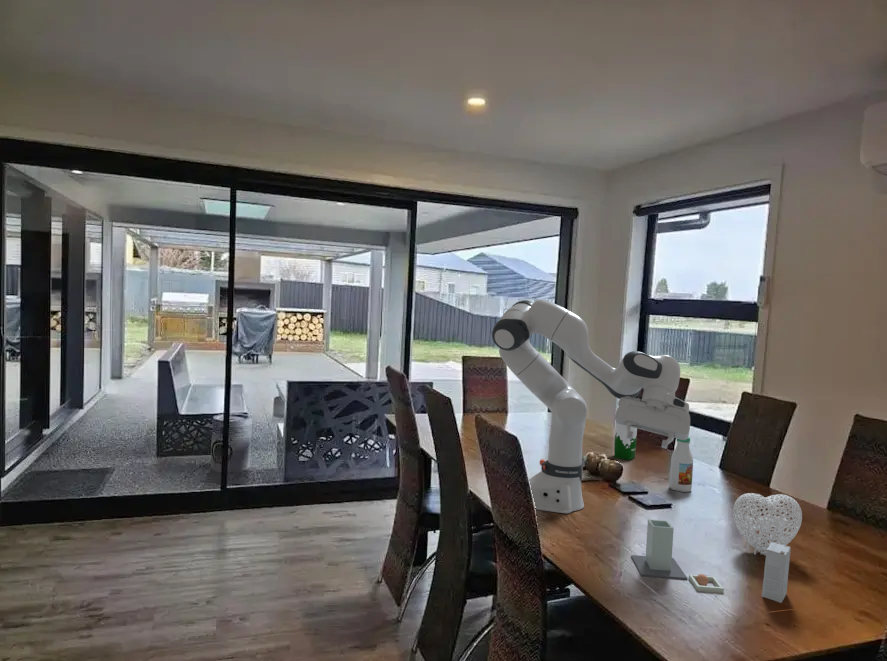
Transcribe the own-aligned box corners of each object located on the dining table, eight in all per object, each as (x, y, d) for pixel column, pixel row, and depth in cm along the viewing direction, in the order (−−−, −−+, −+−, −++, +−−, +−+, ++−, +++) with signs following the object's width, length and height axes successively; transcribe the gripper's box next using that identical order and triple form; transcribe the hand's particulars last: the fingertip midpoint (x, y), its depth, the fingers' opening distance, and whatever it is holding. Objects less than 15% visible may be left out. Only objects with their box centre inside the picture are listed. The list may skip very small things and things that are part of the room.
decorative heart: (785, 548, 164) (789, 489, 163) (808, 565, 153) (813, 502, 152) (722, 545, 164) (726, 486, 163) (741, 561, 153) (745, 499, 152)
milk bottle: (669, 490, 212) (672, 437, 212) (669, 484, 220) (672, 433, 219) (691, 493, 210) (695, 440, 209) (691, 488, 217) (694, 436, 216)
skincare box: (766, 589, 138) (769, 540, 138) (787, 596, 135) (791, 546, 135) (760, 599, 133) (764, 548, 133) (782, 606, 131) (786, 554, 130)
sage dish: (697, 594, 135) (697, 586, 135) (688, 582, 141) (689, 574, 141) (723, 596, 135) (723, 588, 134) (713, 584, 141) (714, 576, 140)
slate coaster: (641, 578, 141) (641, 574, 141) (630, 558, 152) (631, 554, 152) (687, 581, 140) (687, 577, 140) (673, 561, 151) (673, 558, 151)
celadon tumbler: (650, 569, 144) (653, 526, 144) (645, 560, 149) (647, 519, 149) (670, 570, 144) (673, 528, 143) (665, 562, 149) (667, 520, 148)
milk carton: (631, 461, 252) (634, 416, 251) (611, 457, 257) (613, 413, 256) (637, 457, 259) (640, 413, 258) (617, 453, 265) (620, 410, 264)
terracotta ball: (701, 589, 137) (695, 579, 138) (699, 585, 140) (693, 575, 140) (711, 584, 137) (704, 574, 137) (709, 580, 139) (702, 570, 140)
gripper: (621, 388, 169) (608, 426, 161) (695, 405, 160) (685, 446, 152) (620, 400, 173) (608, 438, 166) (692, 417, 164) (683, 458, 157)
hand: (646, 442), depth 159 cm, fingers open, 8 cm apart
